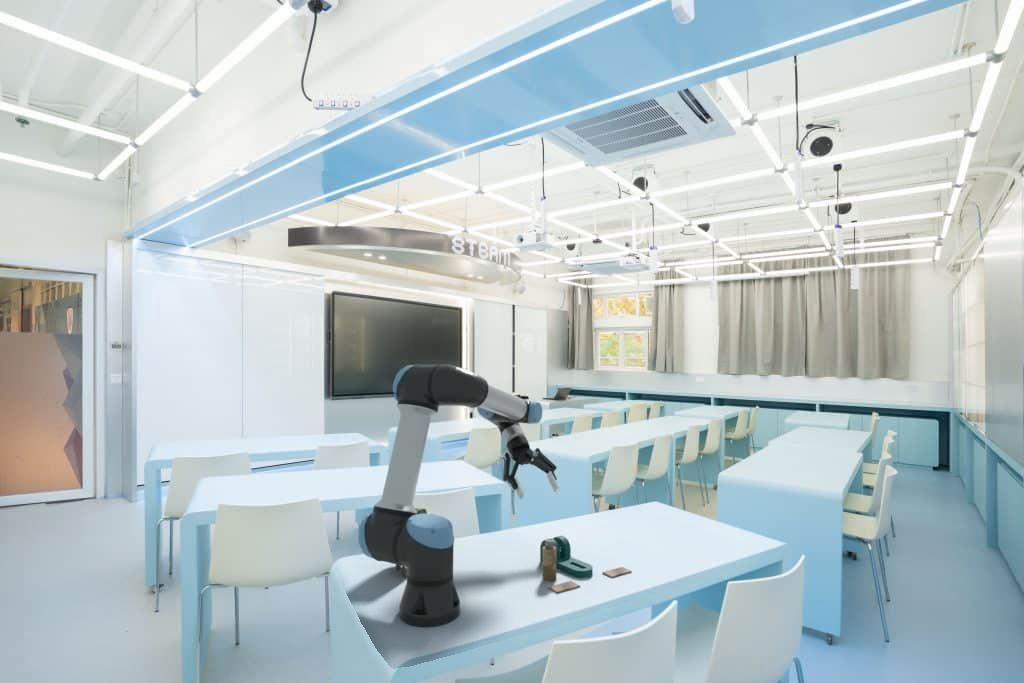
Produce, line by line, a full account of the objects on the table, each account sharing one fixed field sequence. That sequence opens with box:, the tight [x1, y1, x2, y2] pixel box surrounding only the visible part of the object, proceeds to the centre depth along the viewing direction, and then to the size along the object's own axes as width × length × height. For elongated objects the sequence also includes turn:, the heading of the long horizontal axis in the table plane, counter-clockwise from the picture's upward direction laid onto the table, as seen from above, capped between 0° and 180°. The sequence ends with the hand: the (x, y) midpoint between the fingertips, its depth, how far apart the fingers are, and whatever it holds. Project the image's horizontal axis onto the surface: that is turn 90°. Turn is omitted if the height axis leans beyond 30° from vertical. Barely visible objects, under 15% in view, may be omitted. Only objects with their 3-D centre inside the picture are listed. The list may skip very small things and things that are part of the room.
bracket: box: [539, 535, 593, 579], centre depth 166 cm, size 18×7×8 cm, turn 38°
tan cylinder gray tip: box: [542, 539, 557, 583], centre depth 157 cm, size 4×4×11 cm
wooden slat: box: [548, 566, 633, 594], centre depth 156 cm, size 28×4×1 cm, turn 122°
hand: (539, 493), depth 178 cm, fingers open, 13 cm apart
